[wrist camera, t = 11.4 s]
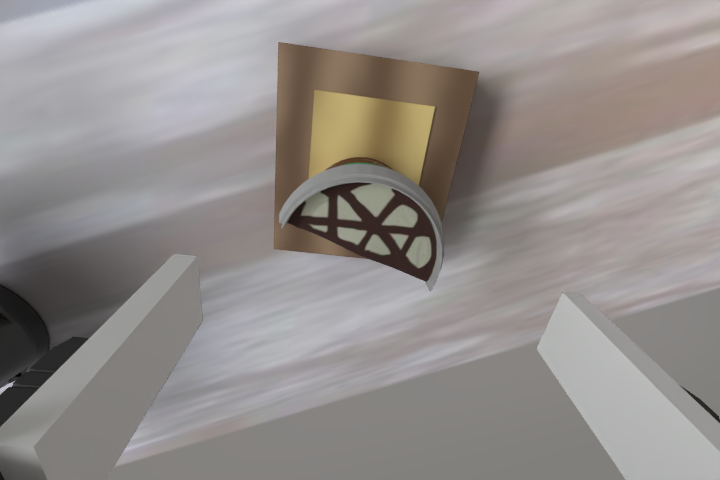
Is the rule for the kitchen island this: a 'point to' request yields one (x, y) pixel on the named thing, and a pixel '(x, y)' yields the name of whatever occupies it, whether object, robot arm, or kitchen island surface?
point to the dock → (364, 125)
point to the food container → (371, 216)
